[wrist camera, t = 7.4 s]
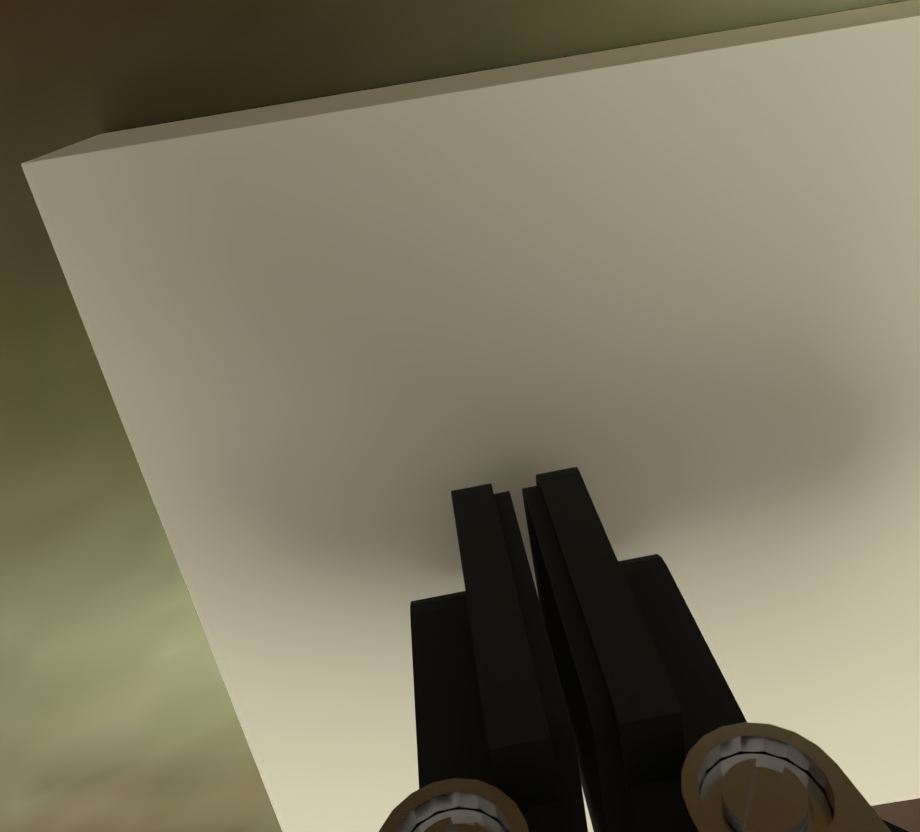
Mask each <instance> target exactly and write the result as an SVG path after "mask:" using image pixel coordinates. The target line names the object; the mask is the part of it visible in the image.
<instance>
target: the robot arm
mask: <svg viewBox="0 0 920 832" xmlns="http://www.w3.org/2000/svg"><path fill="white" fill-rule="evenodd" d="M522 494H523V501H524V508H525V514H526V521H527V527H528V533H529V540H530V546H531V553H532V559H533V565H534V572H535V578H536V585H537V591H538V595H537V592H536V588H535V584H534V580H533V577H532V573H531V569H530V565H529V562H528V558H527V554H526V551H525V547H524V543H523V539H522V536H521V532H520V528H519V524H518V521H517V517H516V513H515V510H514V506H513V502H512V498H511V495H510V492H509V491H506V492H501V493H496V494H494V493H493V488H492V484H491V483H489V484H484V485H479V486H474V487H469V488H463V489H458V490H453V491H451V496H452V503H453V510H454V516H455V523H456V530H457V537H458V544H459V550H460V557H461V564H462V571H463V577H464V584H465V591H462V592H457V593H452V594H446V595H441V596H436V597H431V598H426V599H421V600H415V601H411V604H410V620H411V640H412V660H413V679H414V699H415V719H416V739H417V758H418V778H419V790H417V791H415V792H413V793H411V794H410V795H409V796H408V797H407V798H405V799H404V800H403V801H402V802H401V803H400V804H399V805H398V806H396V807H395V808H394V809H393V810H392V812H391V813H390V815H389V816H388V818H387V819H386V821H385V822H384V824H383V825H382V827H381V829H380V830H379V832H588V827H587V820H586V813H585V806H584V799H583V792H584V796H585V800H586V804H587V808H588V812H589V816H590V819H591V823H592V827H593V831H594V832H908V831H906V830H904V829H901V828H899V827H897V826H895V825H893V824H891V823H889V822H887V821H885V820H882V819H881V818H880V817H879V816H878V814H877V813H876V812H875V811H874V809H873V808H872V807H871V806H870V804H869V803H868V802H867V801H866V799H865V798H864V797H863V796H862V794H861V793H860V792H859V791H858V789H857V788H856V787H855V786H854V784H853V783H852V782H851V781H850V779H849V778H848V777H847V776H846V774H845V773H844V772H843V771H842V769H841V768H840V767H839V766H838V764H837V763H836V762H835V761H834V760H833V759H831V758H830V757H829V756H828V755H827V754H826V753H825V752H824V751H823V750H822V749H821V748H820V747H819V746H818V745H816V744H815V743H813V742H811V741H809V740H808V739H806V738H804V737H803V736H801V735H799V734H798V733H796V732H794V731H790V730H787V729H784V728H781V727H778V726H775V725H771V724H763V723H749V722H747V721H746V719H745V717H744V715H743V713H742V711H741V709H740V707H739V705H738V703H737V701H736V699H735V697H734V695H733V693H732V691H731V690H730V688H729V686H728V684H727V682H726V680H725V678H724V676H723V674H722V672H721V670H720V668H719V666H718V664H717V662H716V660H715V658H714V656H713V654H712V653H711V651H710V649H709V647H708V645H707V643H706V641H705V639H704V637H703V635H702V633H701V631H700V629H699V627H698V625H697V623H696V621H695V619H694V617H693V615H692V614H691V612H690V610H689V608H688V606H687V604H686V602H685V600H684V598H683V596H682V594H681V592H680V590H679V588H678V586H677V584H676V582H675V580H674V578H673V576H672V575H671V573H670V571H669V569H668V567H667V565H666V563H665V562H664V560H663V558H662V557H661V556H660V555H658V554H654V555H649V556H643V557H638V558H633V559H628V560H623V561H618V560H617V558H616V555H615V553H614V551H613V548H612V546H611V544H610V541H609V539H608V537H607V534H606V532H605V530H604V527H603V525H602V523H601V520H600V518H599V516H598V513H597V511H596V509H595V506H594V504H593V502H592V499H591V497H590V495H589V492H588V490H587V488H586V485H585V483H584V481H583V478H582V476H581V474H580V471H579V470H578V468H577V467H572V468H567V469H562V470H557V471H552V472H547V473H541V474H536V486H532V487H527V488H522ZM538 598H539V599H538ZM582 789H583V792H582Z"/></svg>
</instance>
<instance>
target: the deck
mask: <svg viewBox="0 0 920 832" xmlns="http://www.w3.org/2000/svg"><path fill="white" fill-rule="evenodd" d="M21 166H22V169H23V171H24V174H25V176H26V179H27V181H28V184H29V186H30V189H31V192H32V194H33V197H34V199H35V202H36V204H37V207H38V209H39V212H40V214H41V217H42V220H43V222H44V225H45V227H46V230H47V232H48V235H49V237H50V240H51V242H52V245H53V248H54V250H55V253H56V255H57V258H58V260H59V263H60V265H61V268H62V271H63V273H64V276H65V278H66V281H67V283H68V286H69V288H70V291H71V293H72V296H73V299H74V301H75V304H76V306H77V309H78V311H79V314H80V316H81V319H82V322H83V324H84V327H85V329H86V332H87V334H88V337H89V339H90V342H91V344H92V347H93V350H94V352H95V355H96V357H97V360H98V362H99V365H100V367H101V370H102V372H103V375H104V378H105V380H106V383H107V385H108V388H109V390H110V393H111V395H112V398H113V401H114V403H115V406H116V408H117V411H118V413H119V416H120V418H121V421H122V423H123V426H124V429H125V431H126V434H127V436H128V439H129V441H130V444H131V446H132V449H133V452H134V454H135V457H136V459H137V462H138V464H139V467H140V469H141V472H142V474H143V477H144V480H145V482H146V485H147V487H148V490H149V492H150V495H151V497H152V500H153V503H154V505H155V508H156V510H157V513H158V515H159V518H160V520H161V523H162V525H163V528H164V531H165V533H166V536H167V538H168V541H169V543H170V546H171V548H172V551H173V553H174V556H175V559H176V561H177V564H178V566H179V569H180V571H181V574H182V576H183V579H184V582H185V584H186V587H187V589H188V592H189V594H190V597H191V599H192V602H193V604H194V607H195V610H196V612H197V615H198V617H199V620H200V622H201V625H202V627H203V630H204V633H205V635H206V638H207V640H208V643H209V645H210V648H211V650H212V653H213V655H214V658H215V661H216V663H217V666H218V668H219V671H220V673H221V676H222V678H223V681H224V683H225V686H226V689H227V691H228V694H229V696H230V699H231V701H232V704H233V706H234V709H235V712H236V714H237V717H238V719H239V722H240V724H241V727H242V729H243V732H244V734H245V737H246V740H247V742H248V745H249V747H250V750H251V752H252V755H253V757H254V760H255V763H256V765H257V768H258V770H259V773H260V775H261V778H262V780H263V783H264V785H265V788H266V791H267V793H268V796H269V798H270V801H271V803H272V806H273V808H274V811H275V814H276V816H277V819H278V821H279V824H280V826H281V829H282V831H283V832H379V830H380V829H381V827H382V825H383V824H384V822H385V821H386V819H387V818H388V816H389V815H390V813H391V812H392V810H393V809H394V808H395V807H396V806H398V805H399V804H400V803H401V802H402V801H403V800H404V799H405V798H407V797H408V796H409V795H410V794H411V793H413V792H415V791H417V790H419V778H418V758H417V739H416V719H415V699H414V679H413V660H412V640H411V620H410V604H411V601H415V600H421V599H426V598H431V597H436V596H441V595H446V594H452V593H457V592H462V591H465V584H464V577H463V571H462V564H461V557H460V550H459V544H458V537H457V530H456V523H455V516H454V510H453V503H452V496H451V491H453V490H458V489H463V488H469V487H474V486H479V485H484V484H489V483H491V484H492V488H493V493H494V494H496V493H501V492H506V491H509V492H510V495H511V498H512V502H513V506H514V510H515V513H516V517H517V521H518V524H519V528H520V532H521V536H522V539H523V543H524V547H525V551H526V554H527V558H528V562H529V565H530V569H531V573H532V577H533V580H534V584H535V588H536V592H537V595H538V591H537V585H536V578H535V572H534V565H533V559H532V553H531V546H530V540H529V533H528V527H527V521H526V514H525V508H524V501H523V494H522V488H527V487H532V486H536V474H541V473H547V472H552V471H557V470H562V469H567V468H572V467H577V468H578V470H579V471H580V474H581V476H582V478H583V481H584V483H585V485H586V488H587V490H588V492H589V495H590V497H591V499H592V502H593V504H594V506H595V509H596V511H597V513H598V516H599V518H600V520H601V523H602V525H603V527H604V530H605V532H606V534H607V537H608V539H609V541H610V544H611V546H612V548H613V551H614V553H615V555H616V558H617V560H618V561H623V560H628V559H633V558H638V557H643V556H649V555H654V554H658V555H660V556H661V557H662V558H663V560H664V562H665V563H666V565H667V567H668V569H669V571H670V573H671V575H672V576H673V578H674V580H675V582H676V584H677V586H678V588H679V590H680V592H681V594H682V596H683V598H684V600H685V602H686V604H687V606H688V608H689V610H690V612H691V614H692V615H693V617H694V619H695V621H696V623H697V625H698V627H699V629H700V631H701V633H702V635H703V637H704V639H705V641H706V643H707V645H708V647H709V649H710V651H711V653H712V654H713V656H714V658H715V660H716V662H717V664H718V666H719V668H720V670H721V672H722V674H723V676H724V678H725V680H726V682H727V684H728V686H729V688H730V690H731V691H732V693H733V695H734V697H735V699H736V701H737V703H738V705H739V707H740V709H741V711H742V713H743V715H744V717H745V719H746V721H747V722H749V723H763V724H771V725H775V726H778V727H781V728H784V729H787V730H790V731H794V732H796V733H798V734H799V735H801V736H803V737H804V738H806V739H808V740H809V741H811V742H813V743H815V744H816V745H818V746H819V747H820V748H821V749H822V750H823V751H824V752H825V753H826V754H827V755H828V756H829V757H830V758H831V759H833V760H834V761H835V762H836V763H837V764H838V766H839V767H840V768H841V769H842V771H843V772H844V773H845V774H846V776H847V777H848V778H849V779H850V781H851V782H852V783H853V784H854V786H855V787H856V788H857V789H858V791H859V792H860V793H861V794H862V796H863V797H864V798H865V799H866V801H867V802H868V803H869V804H870V806H872V805H879V804H885V803H891V802H898V801H904V800H910V799H916V798H920V0H909V1H903V2H897V3H891V4H885V5H879V6H873V7H867V8H861V9H854V10H848V11H842V12H836V13H830V14H824V15H818V16H812V17H806V18H800V19H794V20H788V21H782V22H776V23H770V24H764V25H757V26H751V27H745V28H739V29H733V30H727V31H721V32H715V33H709V34H703V35H697V36H691V37H685V38H679V39H673V40H667V41H660V42H654V43H648V44H642V45H636V46H630V47H624V48H618V49H612V50H606V51H600V52H594V53H588V54H582V55H576V56H570V57H563V58H557V59H551V60H545V61H539V62H533V63H527V64H521V65H515V66H509V67H503V68H497V69H491V70H485V71H479V72H473V73H466V74H460V75H454V76H448V77H442V78H436V79H430V80H424V81H418V82H412V83H406V84H400V85H394V86H388V87H382V88H376V89H369V90H363V91H357V92H351V93H345V94H339V95H333V96H327V97H321V98H315V99H309V100H303V101H297V102H291V103H285V104H279V105H272V106H266V107H260V108H254V109H248V110H242V111H236V112H230V113H224V114H218V115H212V116H206V117H200V118H194V119H188V120H182V121H175V122H169V123H163V124H157V125H151V126H145V127H139V128H133V129H127V130H121V131H115V132H109V133H103V134H99V135H97V136H94V137H91V138H89V139H86V140H83V141H80V142H78V143H75V144H72V145H70V146H67V147H64V148H62V149H59V150H56V151H54V152H51V153H48V154H46V155H43V156H40V157H38V158H35V159H32V160H30V161H27V162H24V163H22V164H21ZM538 599H539V598H538ZM582 792H583V789H582ZM583 799H584V806H585V813H586V820H587V827H588V832H594V831H593V827H592V823H591V819H590V816H589V812H588V808H587V804H586V800H585V796H584V792H583Z"/></svg>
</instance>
